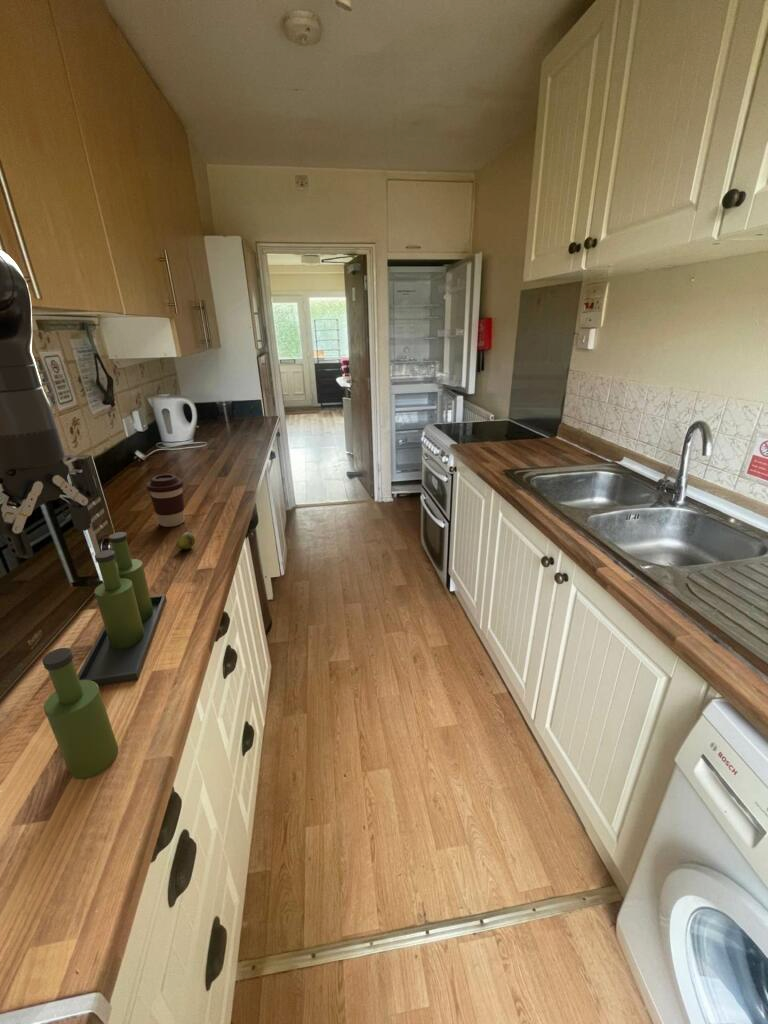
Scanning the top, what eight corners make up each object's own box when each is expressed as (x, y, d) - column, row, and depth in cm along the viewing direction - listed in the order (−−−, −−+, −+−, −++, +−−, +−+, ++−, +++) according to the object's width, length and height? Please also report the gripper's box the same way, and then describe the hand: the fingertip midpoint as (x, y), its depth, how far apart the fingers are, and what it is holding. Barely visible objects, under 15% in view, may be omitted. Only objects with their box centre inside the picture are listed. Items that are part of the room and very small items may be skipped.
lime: (177, 553, 116) (174, 537, 114) (181, 545, 121) (178, 529, 119) (194, 552, 117) (191, 536, 115) (198, 544, 122) (195, 528, 120)
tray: (138, 682, 75) (136, 673, 74) (76, 692, 72) (73, 682, 71) (167, 602, 96) (165, 594, 95) (119, 608, 94) (117, 600, 93)
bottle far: (115, 618, 89) (92, 538, 82) (141, 603, 94) (121, 526, 87) (134, 627, 87) (112, 545, 79) (159, 611, 92) (141, 532, 84)
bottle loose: (59, 767, 60) (16, 663, 52) (101, 734, 65) (67, 634, 57) (86, 786, 58) (44, 679, 50) (127, 750, 63) (95, 648, 55)
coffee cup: (173, 531, 129) (164, 484, 123) (147, 526, 131) (137, 480, 125) (196, 518, 137) (189, 474, 131) (171, 514, 140) (163, 470, 134)
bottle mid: (102, 643, 83) (76, 557, 75) (131, 625, 88) (109, 543, 80) (123, 652, 80) (98, 565, 73) (151, 634, 85) (131, 550, 78)
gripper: (49, 413, 60) (79, 518, 66) (-73, 436, 47) (-21, 563, 54) (92, 417, 58) (119, 524, 65) (-23, 441, 46) (25, 572, 52)
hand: (55, 542), depth 59 cm, fingers open, 8 cm apart
